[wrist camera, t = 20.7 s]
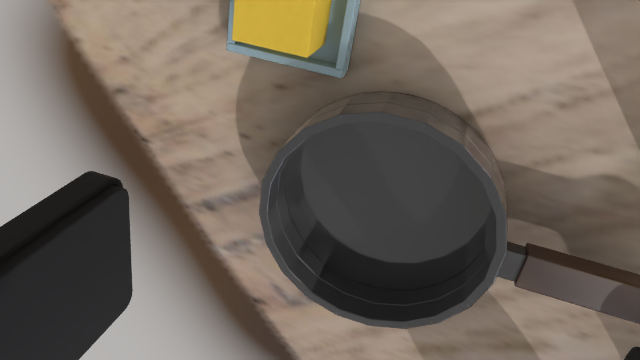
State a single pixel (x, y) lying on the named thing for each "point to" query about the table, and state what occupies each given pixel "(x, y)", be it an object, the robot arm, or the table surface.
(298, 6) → the sponge
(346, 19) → the light blue tray
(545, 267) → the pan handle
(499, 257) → the pan
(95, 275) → the robot arm
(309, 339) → the table surface
